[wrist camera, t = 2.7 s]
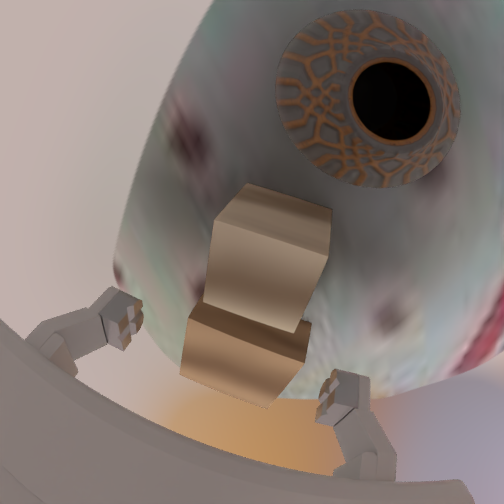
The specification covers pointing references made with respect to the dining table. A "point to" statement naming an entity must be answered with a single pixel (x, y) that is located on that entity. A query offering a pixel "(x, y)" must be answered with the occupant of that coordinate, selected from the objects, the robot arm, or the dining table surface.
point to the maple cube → (267, 256)
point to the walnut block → (241, 354)
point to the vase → (367, 98)
